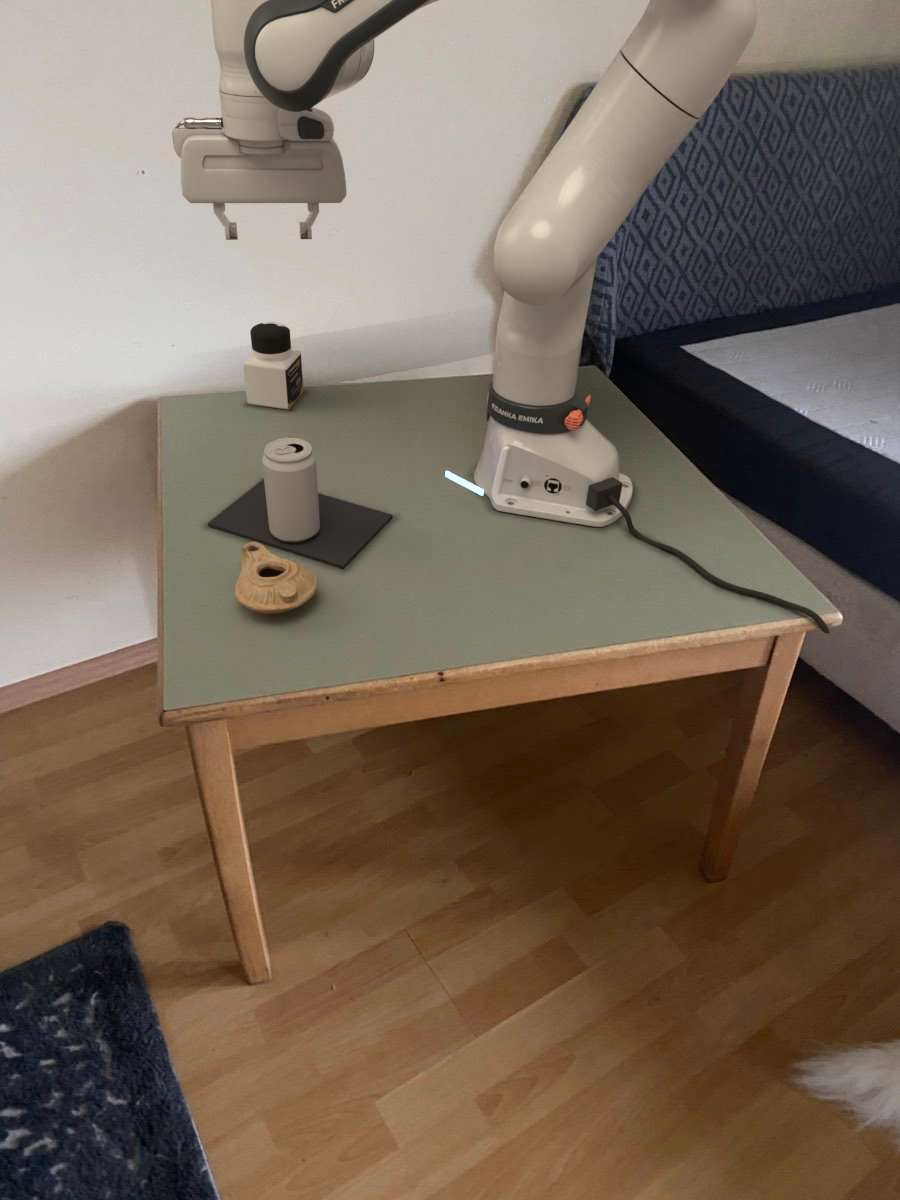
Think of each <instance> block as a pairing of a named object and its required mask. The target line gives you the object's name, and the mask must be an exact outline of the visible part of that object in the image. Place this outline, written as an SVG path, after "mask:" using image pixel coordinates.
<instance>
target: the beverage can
mask: <svg viewBox="0 0 900 1200" xmlns="http://www.w3.org/2000/svg"><path fill="white" fill-rule="evenodd" d="M263 452H264V453H263V455H262V456H261V457H262V458H261V462H262V464H261V465H262V474H263V479H264V484H265V493H266V503H267V512H268V522H269V530H270V532H271V534H272V535H273V536H274V537H276V538H278V539H279V540H281V541H284V542H289V543H297V542H302V541H305V540H308V539H310V538H311V537H313V536H314V535H315V534H316V533H317V532H318V531H319V529H320V517H319V501H318V493H319V487H318V472H317V471H318V470H317V455H316V454H315V452H314V451H313V447H312V445H311V443H310V442H308V441H306V440H305V439H301V438H296V437H284V438H283V437H281V438H278V439H273V440H271V441H270V442H269V443H267V444H266V445H265V446H264V449H263Z"/></svg>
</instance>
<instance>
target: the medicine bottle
mask: <svg viewBox="0 0 900 1200" xmlns="http://www.w3.org/2000/svg"><path fill="white" fill-rule="evenodd" d="M249 331H250V332H249V333H250V342H251V352H252V354H251V355H250V356H249V357H248V358H247V359H246V360H245V361H244V362H243V364H242V367H243V377H244V385H245V392H246V403H247V404H248V405H251V406H258V407H265V408H272V409H279V410H290V409H291V408H292V407H293V405H294V404H295V403H296V401H297V400H299V398H300V396H301V395H302V394H303V393H304V379H303V378H304V377H303V366H302V365H303V363H302V352H301V351H300V350H294V349H292V342H291V339H292V338H291V329H290V328H289V327H288V326H287V325H286V324H284V323H281V322H277V321H264V322H260V323H256V324H255V325H253V326H252V327H251V329H250V330H249Z"/></svg>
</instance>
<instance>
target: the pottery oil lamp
mask: <svg viewBox="0 0 900 1200" xmlns="http://www.w3.org/2000/svg"><path fill="white" fill-rule="evenodd" d="M239 563H240V569H239V570H240V571H239V576H238V579H237V581H236V583H235V585H234V598H235V600H237V602H238V603H239V604H240V605H241V606H243V607H245V608H246V609H248V610H251V611H254V612H256V613H261V614H262V613H263V614H280V613H285V612H288V611H291V610H293V609H294V610H295V609H296V608H299V607H300V606H302V605H304V604H305V603H307V602H308V601H309V600H310V599H311V598H312V597H314V595H315V594H316V592H317V588H318V582H319V581H318V579H317V576H316V575H315V573H312V572H311V571H310V570H309V569H307V568H306V567H304V566H303V565H302V564H300V563H298V562H295V561H293V560H290V559H288V558H284V557H280V556H277V555H275V554H274V553H272V552H271V551H269V549H268V548H266V546H265V544H263V543H260V542H257V541H249V542H246V543H245V544H244V545H243V546H242V549H241V554H240V559H239Z"/></svg>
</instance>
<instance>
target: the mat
mask: <svg viewBox="0 0 900 1200" xmlns="http://www.w3.org/2000/svg"><path fill="white" fill-rule="evenodd" d="M318 501H319V517H320V529H319V531H318V532H317V533H316V534H315V535H314V536H313V537H311V538H310V539H308V540H305V541H302V542H297V543H289V542H284V541H281V540H279V539H278V538H276V537H274V536H273V535H272V534H271V532H270V530H269V522H268V512H267V503H266V493H265V484H264V478H263V479H261V480H260V481H258V483H256V484H255V485H254V486H253V487H251V488H250V489H249V490H248V491H246V492H245V493H244V494H242V495H241V496H240V497H239V498H237V499H236V500H235V501H234V502H233V503H231V504H230V505H229V506H228V507H226V508H225V509H223V510H222V511H221V512H219V513H218V514H217V515H216V516H214V518H212V519H211V520H210V521H209V522H207V526H208V527H209V528H211V529H212V528H213V529H216V530H219V531H222V532H225V533H229V534H232V535H235V536H238V537H241V538H244V539H247V540H249V541H252V542H258V543H261V544H262V545H266V546H269V547H272V548H276V549H278V550H282V551H285V552H289V553H290V554H291V553H292V554H294V555H298V556H301V557H303V558H307V559H311V560H313V561H316V562H320V563H323V564H326V565H330V566H332V567H336V568H339V569H342V570H344V569H346V567H347V566H349V564H350V563H351V562H352V561H353V560H354V559H355V558H356V557H357V555H359V554H360V553H361V551H362V550H363V549H365V547H366V546H367V545H368V544H369V543H370V542H371V541H372V540H373V539H374V538H375V537H376V536H377V535H378V534H379V533H380V531H381V530H383V528H384V527H385V526H386V525H387V524H388V523H389V522H390V521H391V520H392V519H393V514H391V513H388V512H384V511H380V510H377V509H374V508H370V507H367V506H363V505H361V504H356V503H353V502H350V501H346V500H344V499H339V498H336V497H333V496H329V495H325V494H322V493H319V492H318Z"/></svg>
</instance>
